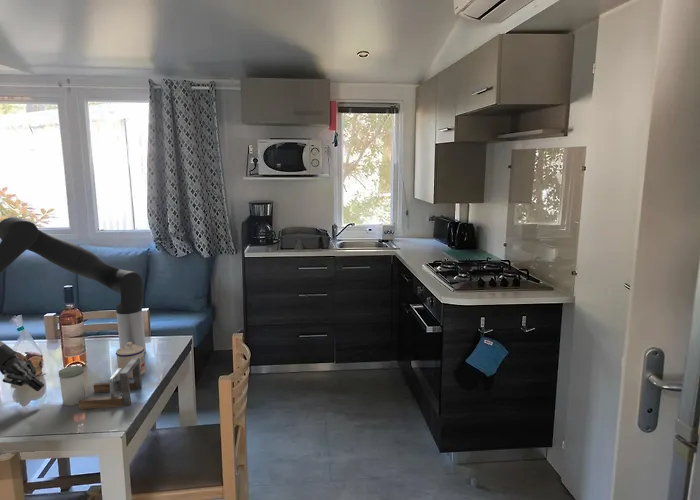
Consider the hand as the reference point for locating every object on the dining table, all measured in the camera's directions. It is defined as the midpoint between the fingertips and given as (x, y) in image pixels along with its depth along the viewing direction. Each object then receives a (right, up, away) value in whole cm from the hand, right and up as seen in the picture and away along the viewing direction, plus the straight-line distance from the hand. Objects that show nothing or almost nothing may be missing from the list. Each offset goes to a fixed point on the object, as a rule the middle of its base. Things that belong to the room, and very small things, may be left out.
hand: (41, 388), depth 151 cm
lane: (+20, -4, +3) cm, 20 cm away
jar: (+9, -4, +2) cm, 10 cm away
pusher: (+24, -3, +4) cm, 25 cm away
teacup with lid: (+18, -1, +23) cm, 30 cm away
